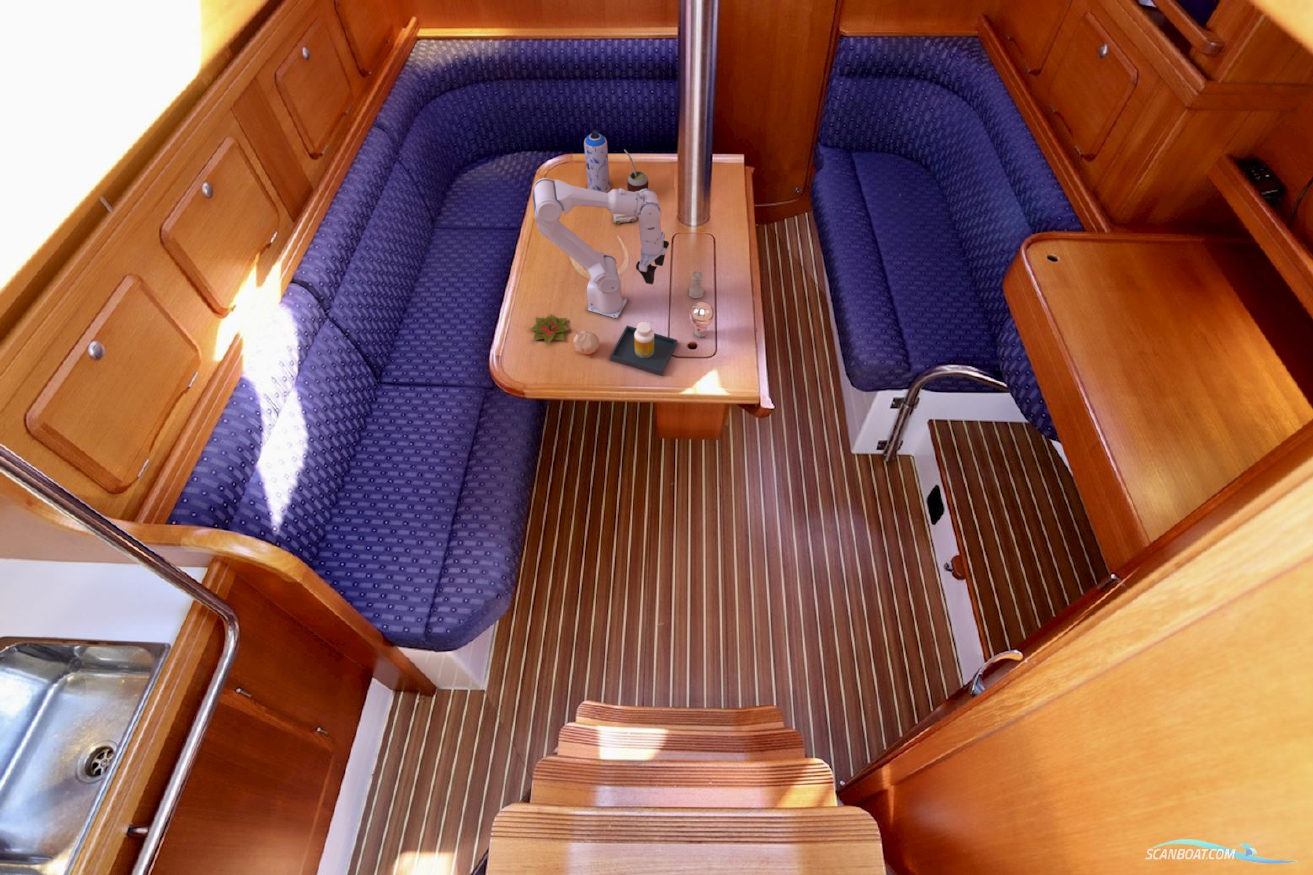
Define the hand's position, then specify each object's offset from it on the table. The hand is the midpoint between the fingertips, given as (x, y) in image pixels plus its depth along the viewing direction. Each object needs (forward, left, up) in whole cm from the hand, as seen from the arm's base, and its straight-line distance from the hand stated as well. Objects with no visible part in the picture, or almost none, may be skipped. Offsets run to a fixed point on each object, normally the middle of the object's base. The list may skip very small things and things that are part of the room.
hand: (654, 273), depth 183 cm
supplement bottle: (+5, -20, -10) cm, 23 cm away
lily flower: (-23, -22, -11) cm, 34 cm away
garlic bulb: (-10, -25, -11) cm, 29 cm away
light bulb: (+17, -8, -11) cm, 22 cm away
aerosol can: (-37, +44, -11) cm, 59 cm away
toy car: (-22, +31, -11) cm, 40 cm away
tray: (+5, -20, -11) cm, 23 cm away
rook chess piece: (+11, +7, -11) cm, 17 cm away
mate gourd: (-23, +44, -11) cm, 51 cm away
